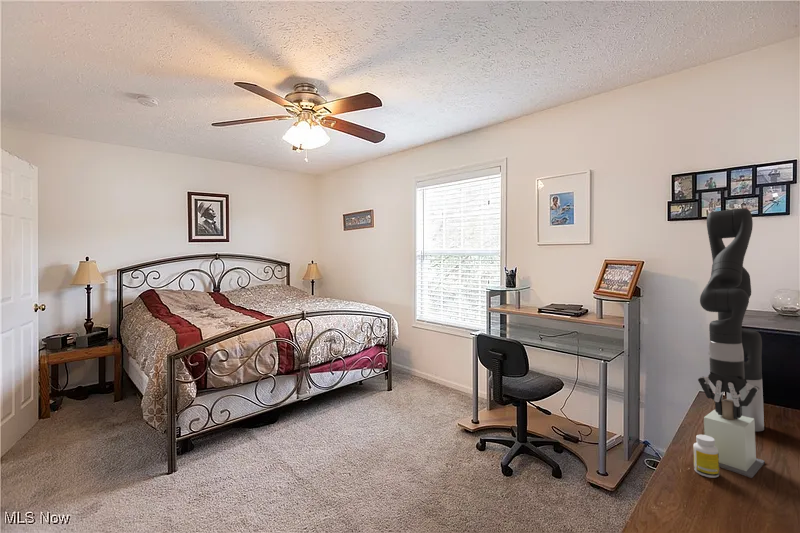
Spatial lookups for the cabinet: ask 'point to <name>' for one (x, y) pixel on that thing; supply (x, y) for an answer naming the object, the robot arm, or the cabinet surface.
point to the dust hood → (732, 436)
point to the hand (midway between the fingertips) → (728, 416)
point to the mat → (749, 472)
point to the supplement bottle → (706, 456)
